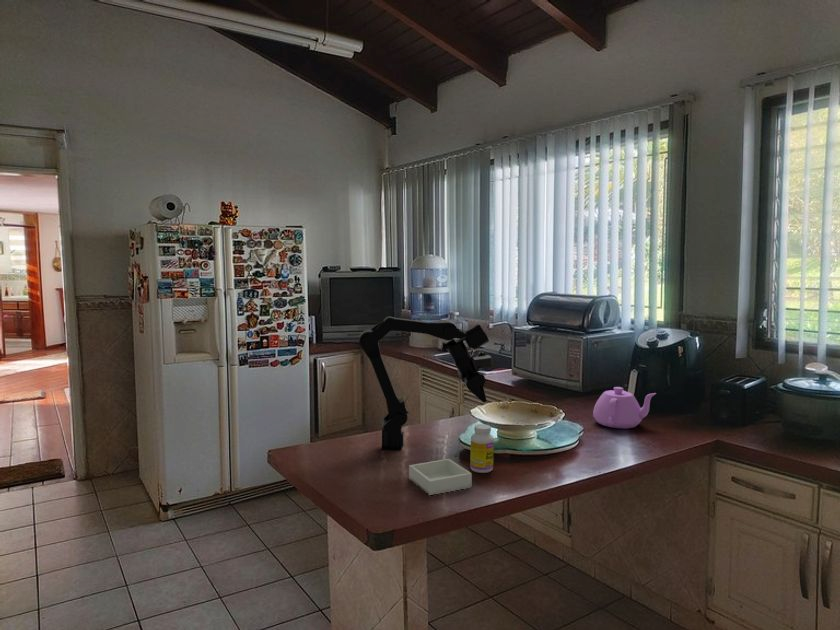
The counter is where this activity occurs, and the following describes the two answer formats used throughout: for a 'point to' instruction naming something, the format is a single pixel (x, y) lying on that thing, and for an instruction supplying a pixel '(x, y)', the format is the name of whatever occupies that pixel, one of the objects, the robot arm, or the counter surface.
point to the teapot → (620, 409)
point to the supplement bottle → (482, 449)
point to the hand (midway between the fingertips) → (482, 398)
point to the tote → (440, 476)
